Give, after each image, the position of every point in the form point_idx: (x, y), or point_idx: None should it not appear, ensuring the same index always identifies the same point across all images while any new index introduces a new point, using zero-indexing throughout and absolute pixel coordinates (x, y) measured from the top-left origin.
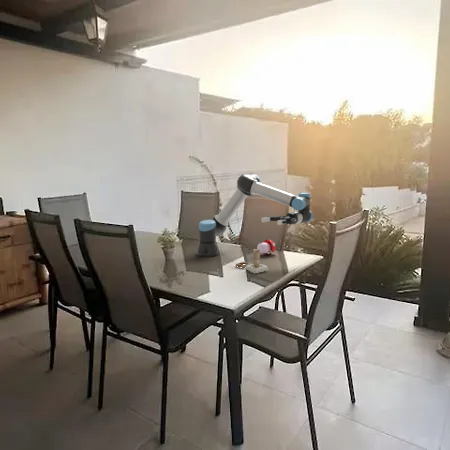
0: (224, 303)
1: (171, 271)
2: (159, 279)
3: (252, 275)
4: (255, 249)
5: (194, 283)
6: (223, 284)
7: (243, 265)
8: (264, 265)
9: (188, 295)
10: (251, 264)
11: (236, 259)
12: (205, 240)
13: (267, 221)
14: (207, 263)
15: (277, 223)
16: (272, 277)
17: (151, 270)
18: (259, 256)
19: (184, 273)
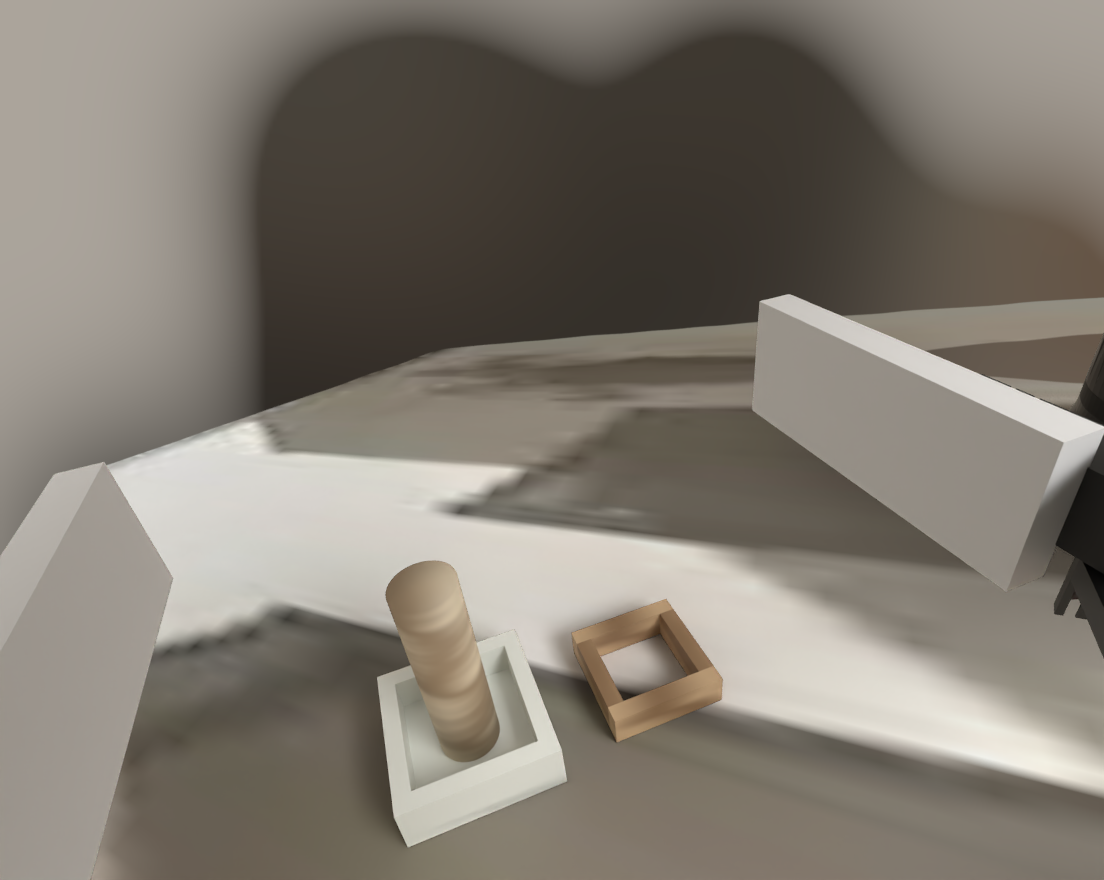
0: (118, 473)
1: (638, 373)
2: (533, 353)
3: (370, 668)
4: (438, 578)
5: (416, 421)
6: (323, 498)
7: (581, 636)
8: (439, 795)
9: (295, 405)
10: (532, 681)
11: (966, 685)
12: (1090, 372)
13: (895, 506)
14: (791, 484)
15: (152, 544)
16: (207, 808)
17: (673, 335)
18: (410, 660)
19: (587, 402)
